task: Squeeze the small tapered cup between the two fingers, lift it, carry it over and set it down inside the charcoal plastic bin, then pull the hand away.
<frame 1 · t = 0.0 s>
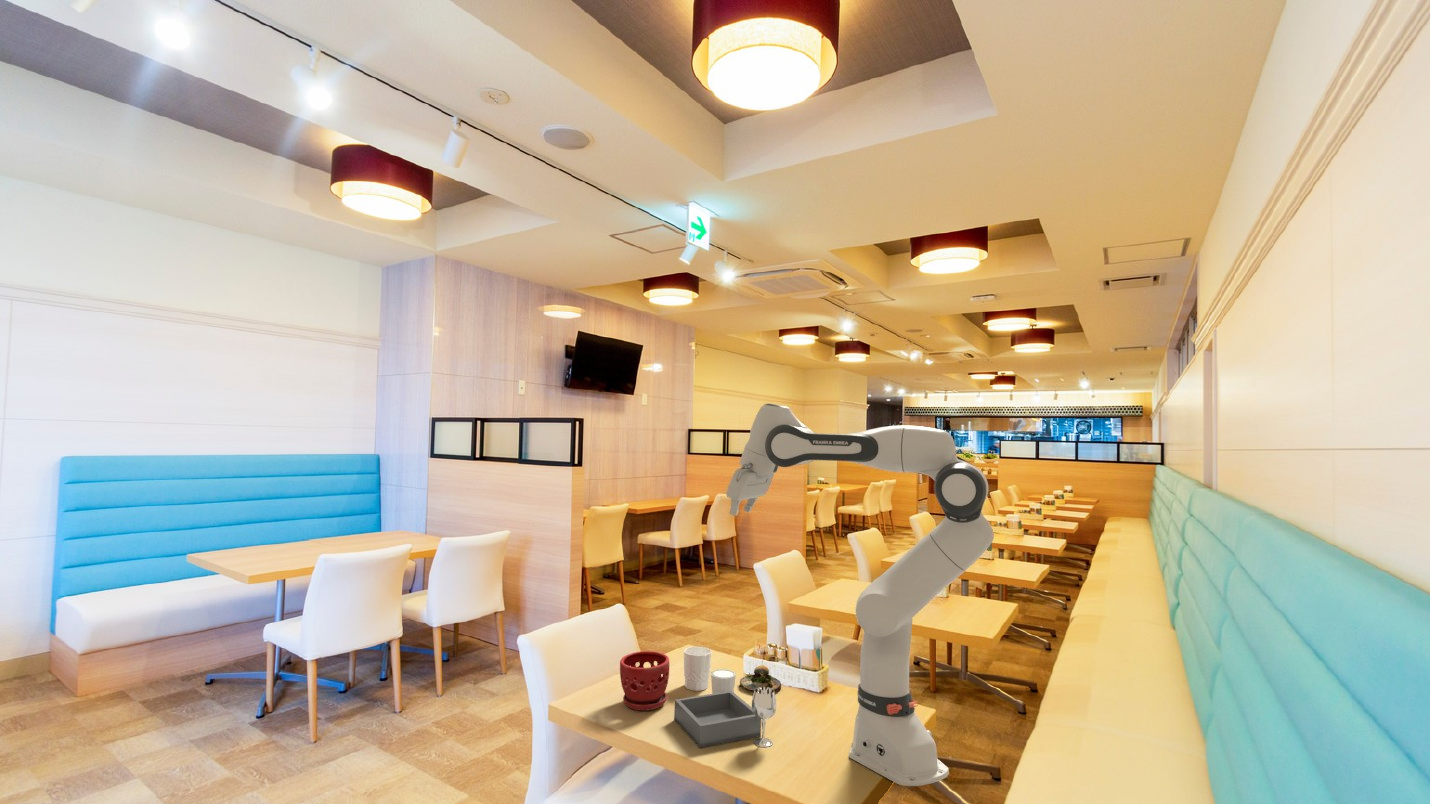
hand: (740, 512, 168), 52 cm above the table, tool tilted 20°, fingers open, 8 cm apart
plant pot: (643, 704, 173), on the table
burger: (760, 688, 187), on the table
small tapered cup: (722, 700, 177), on the table
bin: (716, 727, 160), on the table
white cup: (696, 687, 186), on the table
wineglass: (763, 743, 153), on the table
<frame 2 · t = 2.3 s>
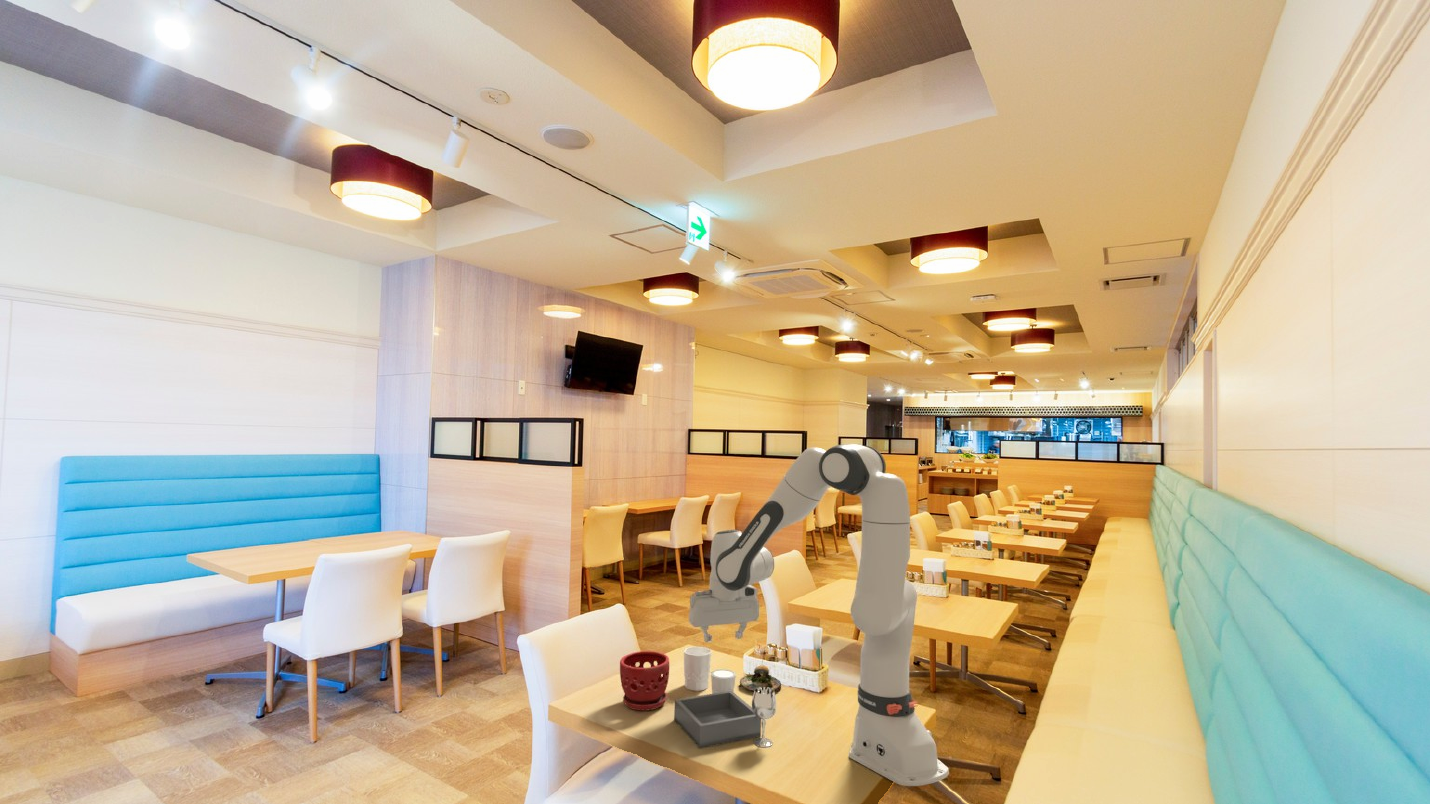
hand: (723, 639, 178), 16 cm above the table, tool pointing down, fingers open, 8 cm apart
nothing on the table moved.
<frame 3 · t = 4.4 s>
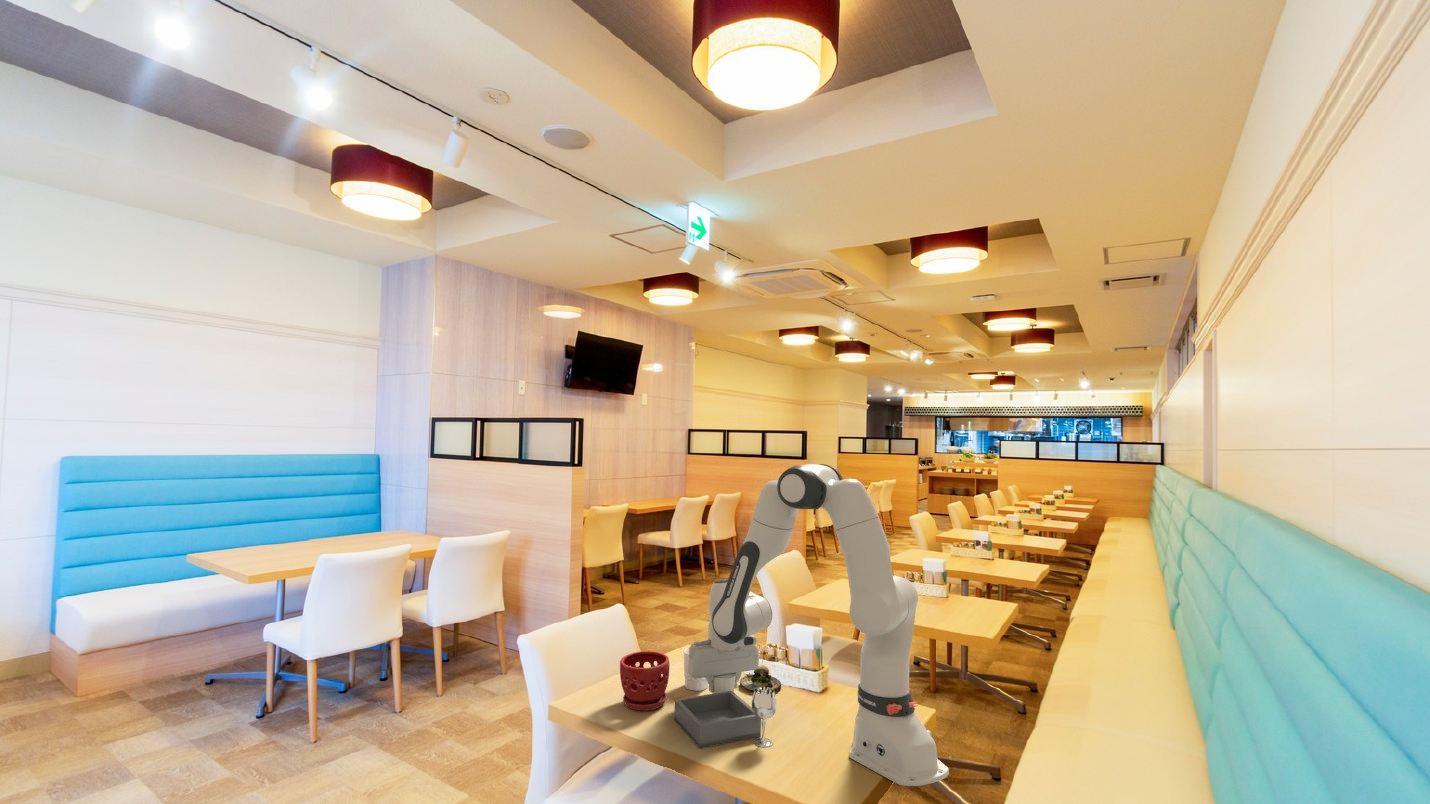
hand: (723, 689, 177), 3 cm above the table, tool pointing down, fingers closed on small tapered cup, 5 cm apart
small tapered cup: (722, 700, 177), on the table, touching gripper
everything else where it was.
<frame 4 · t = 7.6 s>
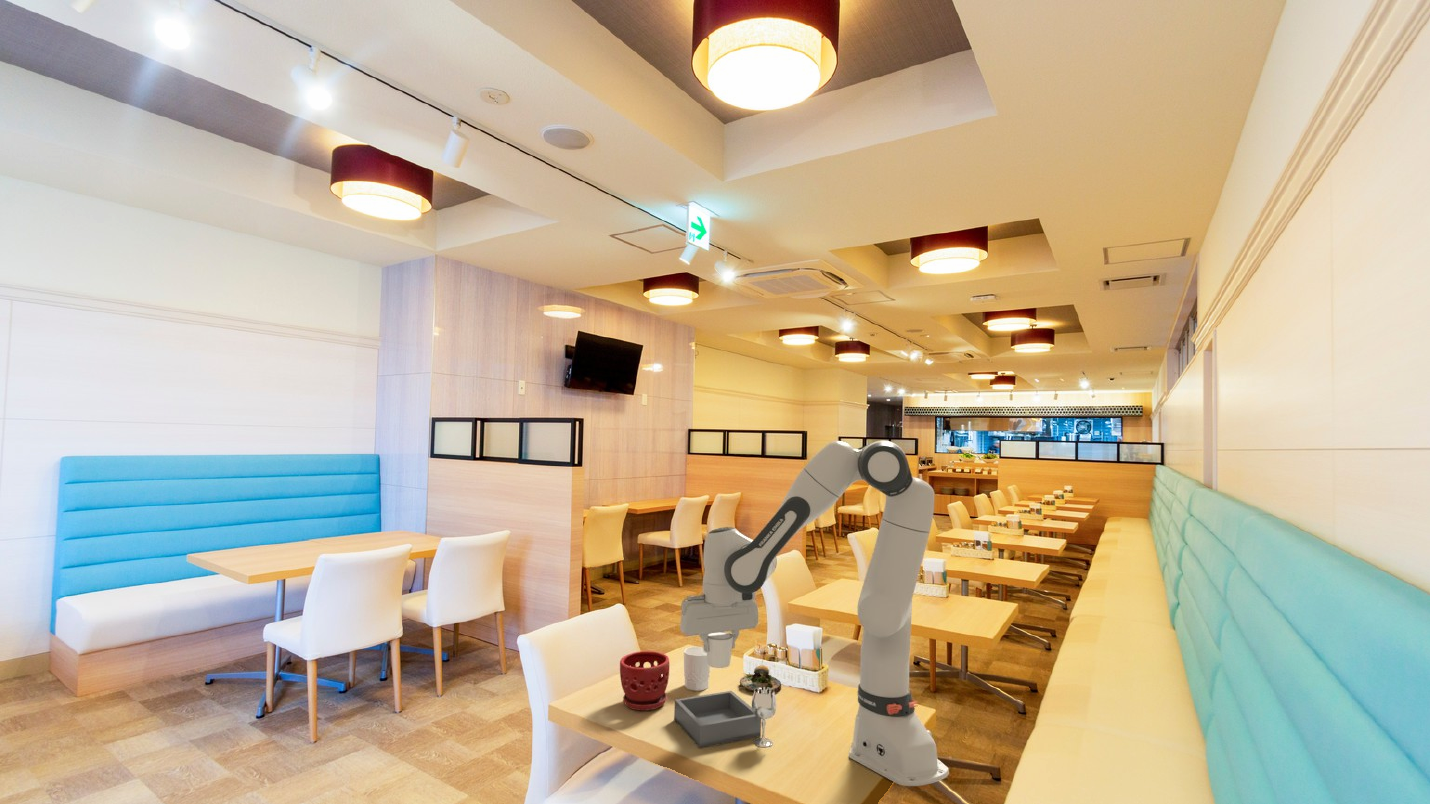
hand: (719, 649, 161), 19 cm above the table, tool pointing down, fingers closed on small tapered cup, 5 cm apart
small tapered cup: (718, 664, 161), point 15 cm above the table, touching gripper
everything else where it was.
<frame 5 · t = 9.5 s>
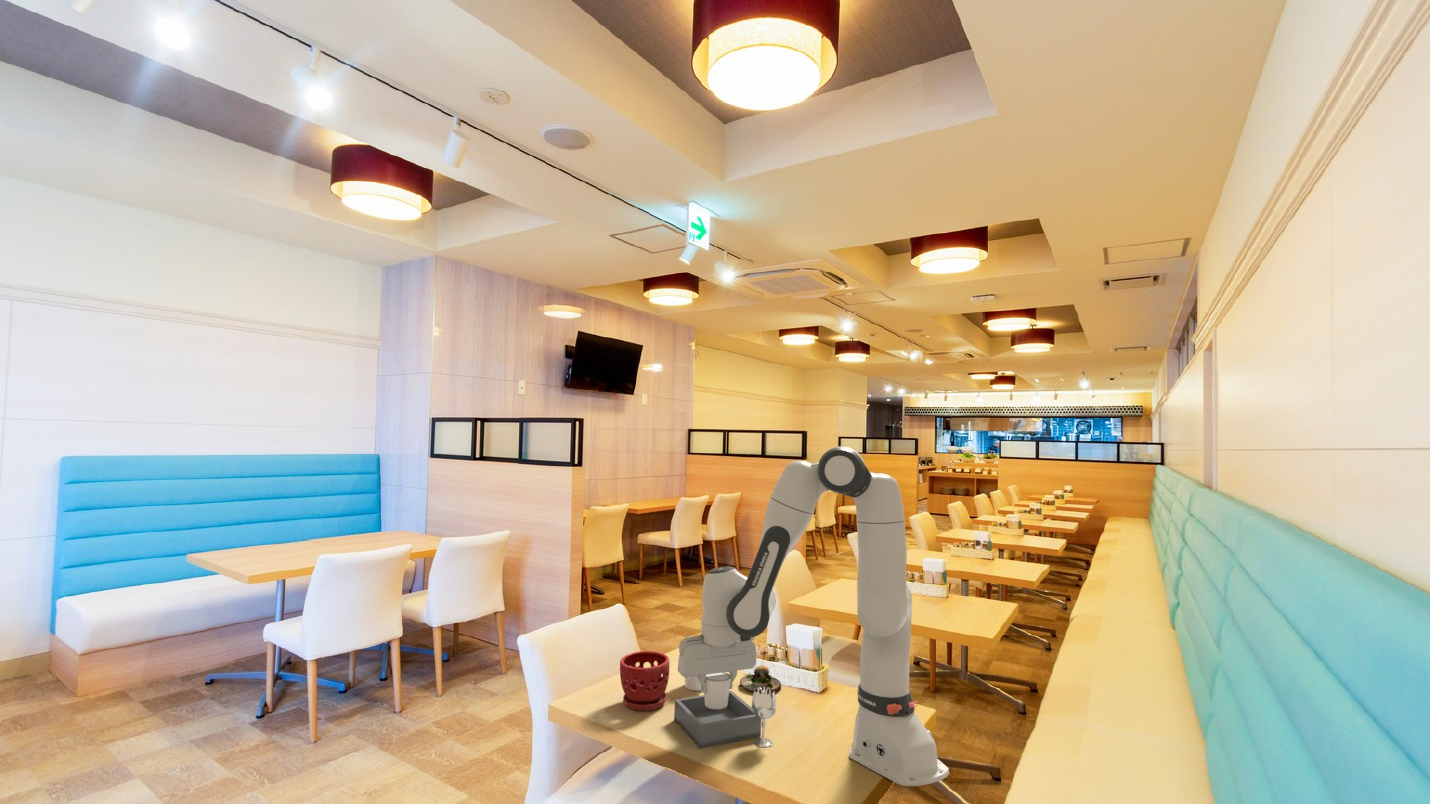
hand: (716, 690, 160), 9 cm above the table, tool pointing down, fingers closed on small tapered cup, 5 cm apart
small tapered cup: (715, 705, 160), point 5 cm above the table, touching gripper
everything else where it was.
when the fingers open (5 cm above the table, at t = 11.2 s): small tapered cup stays where it is, resting on bin.
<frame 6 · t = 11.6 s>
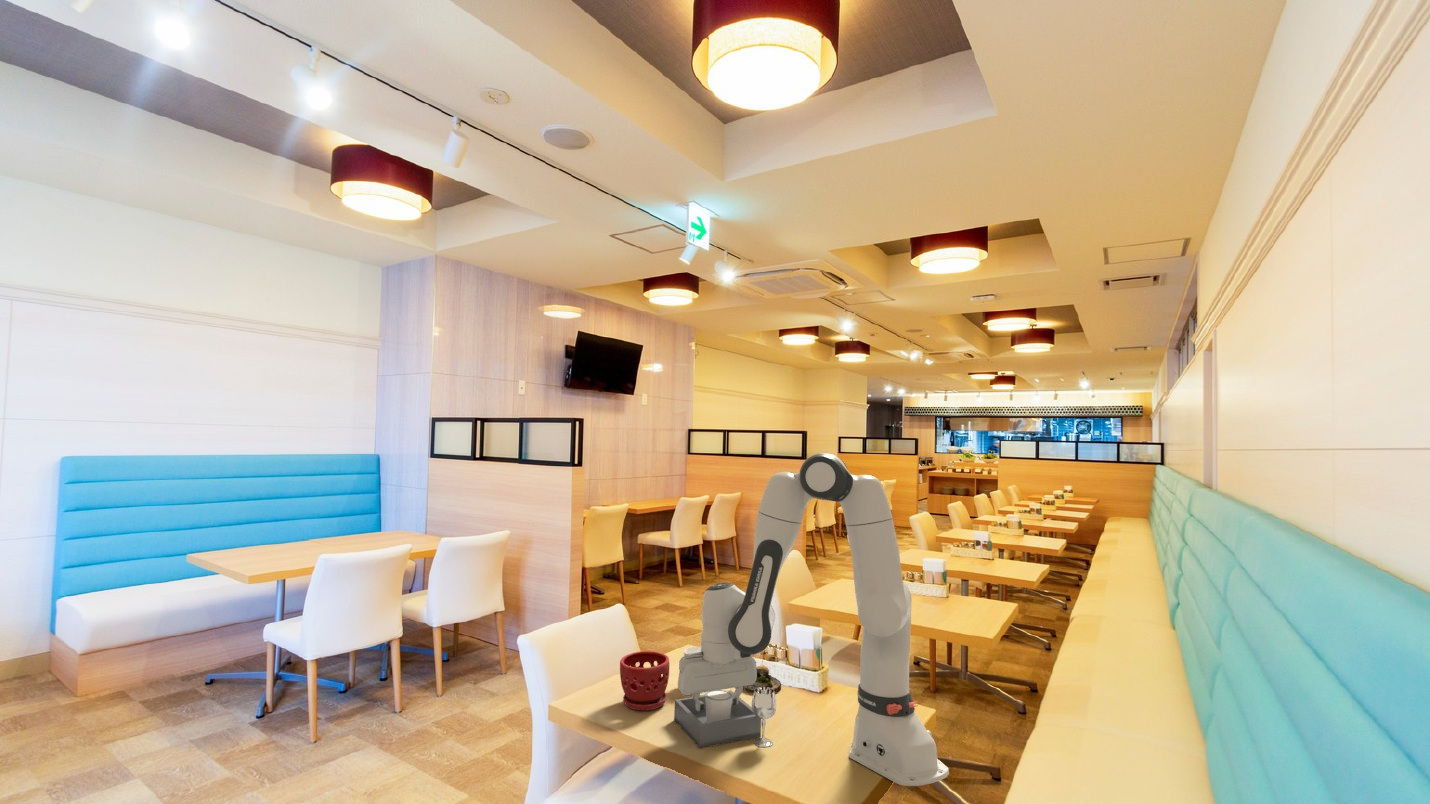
hand: (717, 706, 160), 5 cm above the table, tool pointing down, fingers open, 8 cm apart
small tapered cup: (717, 724, 160), point 1 cm above the table, touching bin
everything else where it was.
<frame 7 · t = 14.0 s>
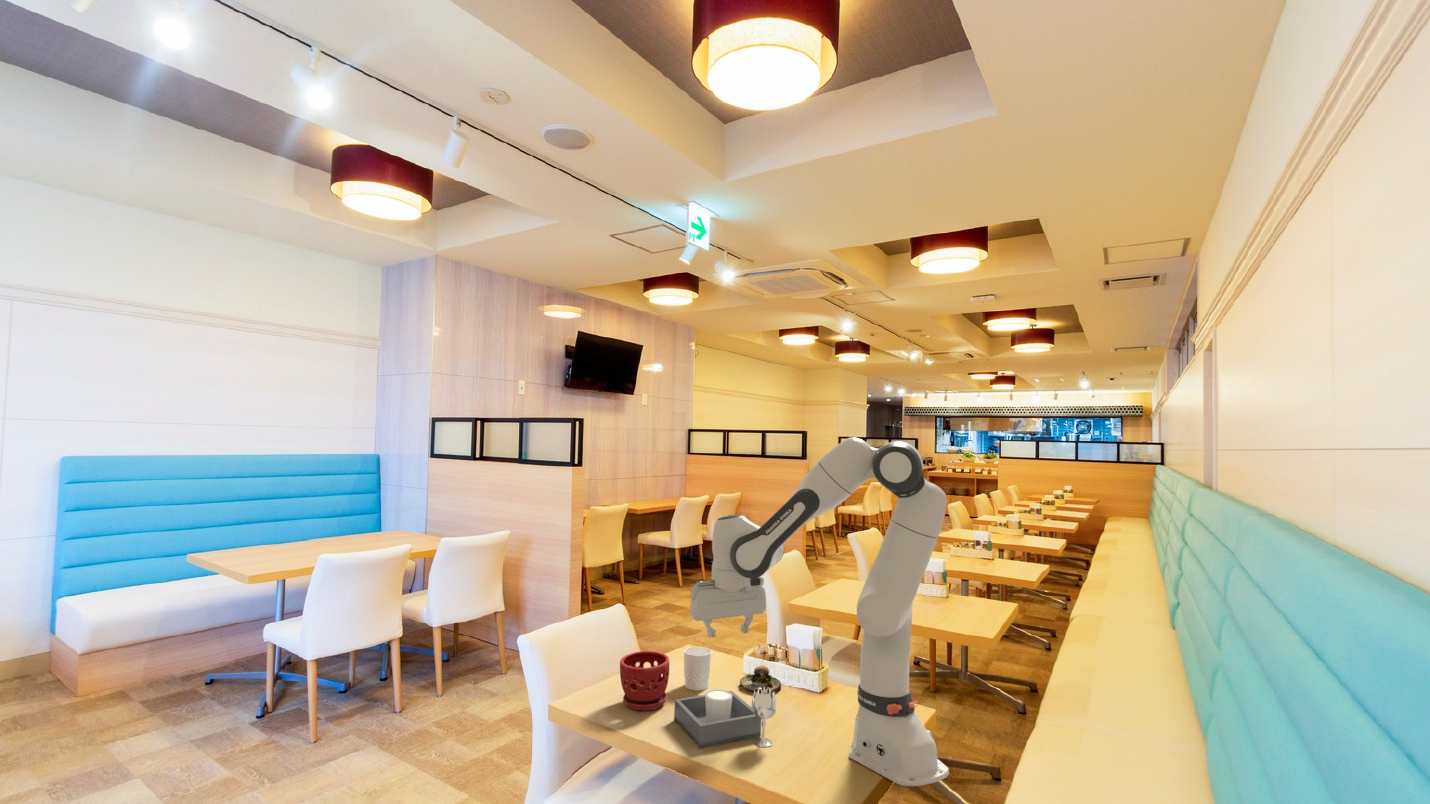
hand: (728, 634, 164), 22 cm above the table, tool pointing down, fingers open, 8 cm apart
nothing on the table moved.
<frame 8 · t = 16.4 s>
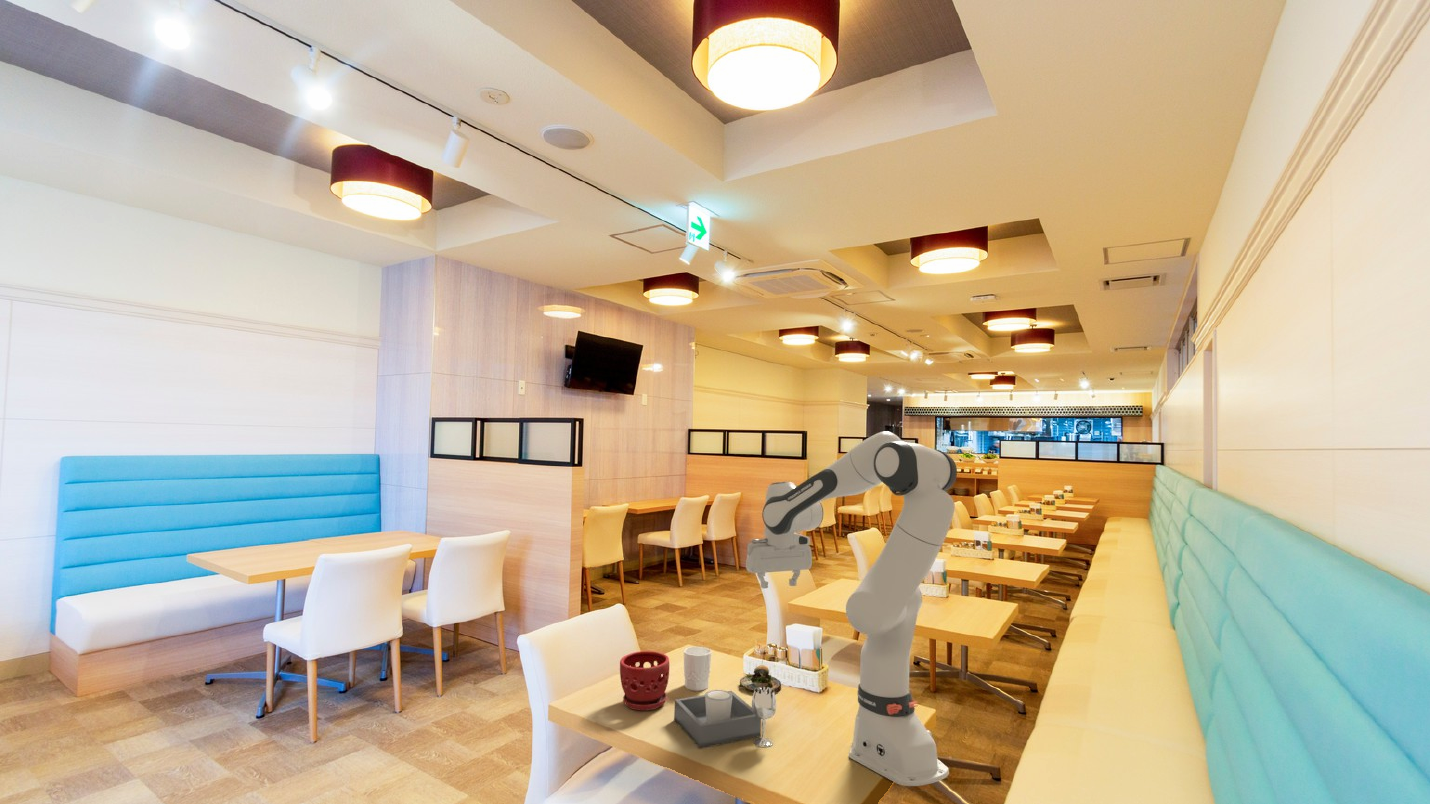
hand: (778, 586, 186), 29 cm above the table, tool pointing down, fingers open, 8 cm apart
nothing on the table moved.
at the end: small tapered cup inside the target area on the bin (0.4 cm from its centre), point 0.8 cm above the bin's base; small tapered cup tilted 0°; the gripper is holding nothing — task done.
